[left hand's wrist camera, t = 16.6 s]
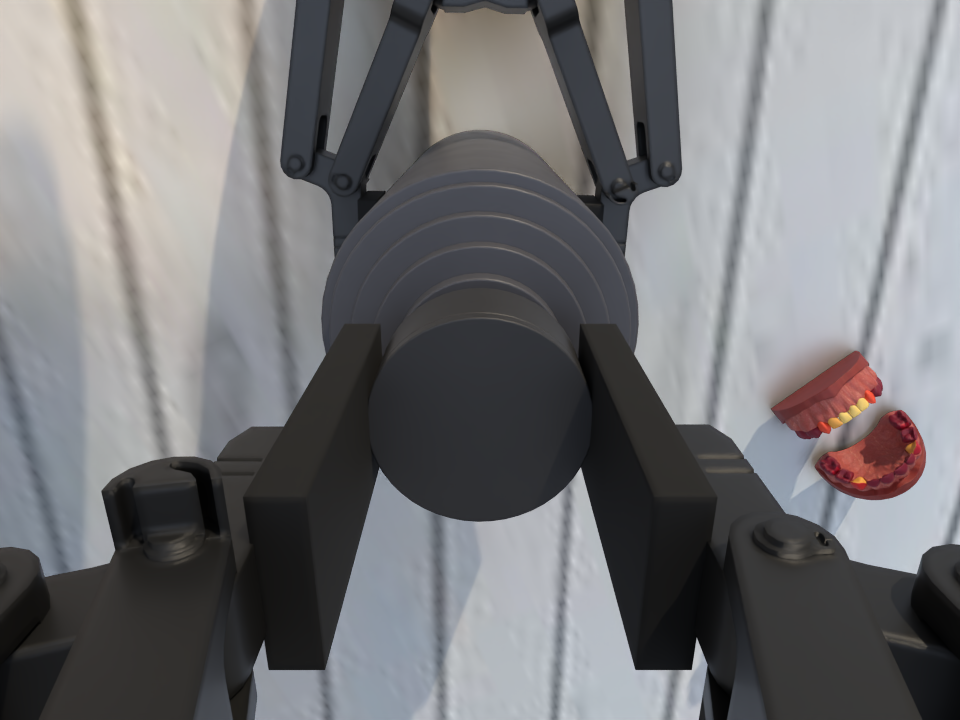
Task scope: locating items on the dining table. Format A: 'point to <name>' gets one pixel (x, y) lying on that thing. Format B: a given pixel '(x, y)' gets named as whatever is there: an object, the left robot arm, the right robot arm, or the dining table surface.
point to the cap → (480, 406)
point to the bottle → (480, 243)
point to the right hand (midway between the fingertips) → (477, 344)
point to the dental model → (874, 460)
